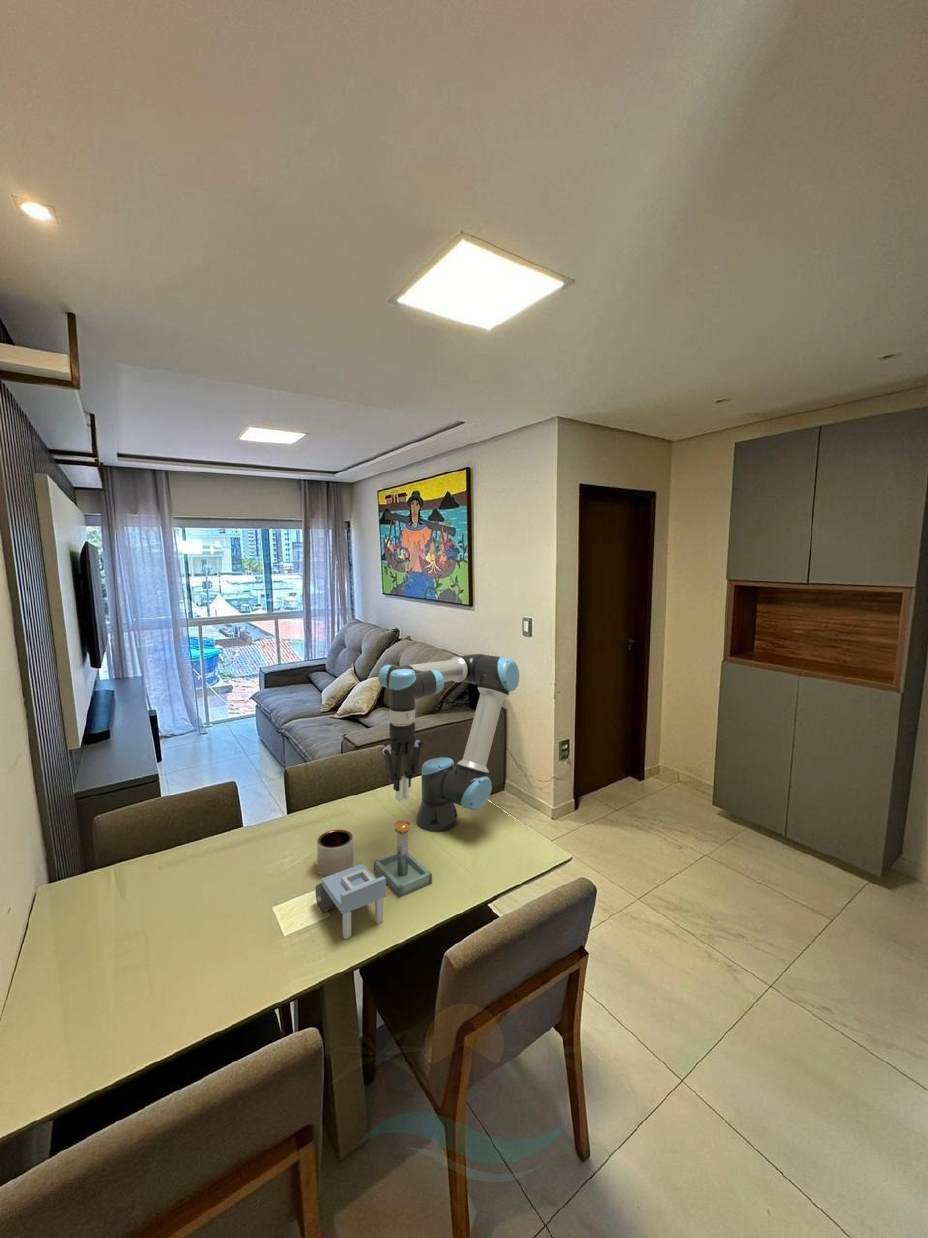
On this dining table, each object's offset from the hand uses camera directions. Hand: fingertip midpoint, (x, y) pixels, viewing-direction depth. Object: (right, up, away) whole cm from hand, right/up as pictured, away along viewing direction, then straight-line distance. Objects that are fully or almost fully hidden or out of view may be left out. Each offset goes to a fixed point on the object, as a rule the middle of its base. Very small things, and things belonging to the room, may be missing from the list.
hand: (402, 799), depth 147 cm
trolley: (-12, -26, -14) cm, 32 cm away
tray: (0, -24, +3) cm, 24 cm away
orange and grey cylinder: (0, -23, +2) cm, 23 cm away
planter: (-22, -24, +7) cm, 33 cm away
